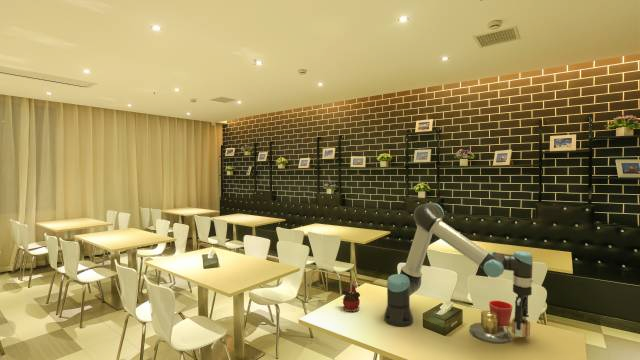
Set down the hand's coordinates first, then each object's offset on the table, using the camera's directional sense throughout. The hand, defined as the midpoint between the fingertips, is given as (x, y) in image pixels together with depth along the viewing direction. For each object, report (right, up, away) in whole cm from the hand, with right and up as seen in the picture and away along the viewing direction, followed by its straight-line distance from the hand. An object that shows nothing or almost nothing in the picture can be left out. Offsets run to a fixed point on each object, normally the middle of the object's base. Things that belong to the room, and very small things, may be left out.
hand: (520, 332), depth 156 cm
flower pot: (0, -3, +18) cm, 19 cm away
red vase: (-77, -4, +37) cm, 85 cm away
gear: (0, 0, 0) cm, 0 cm away
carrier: (-11, -3, +6) cm, 13 cm away
